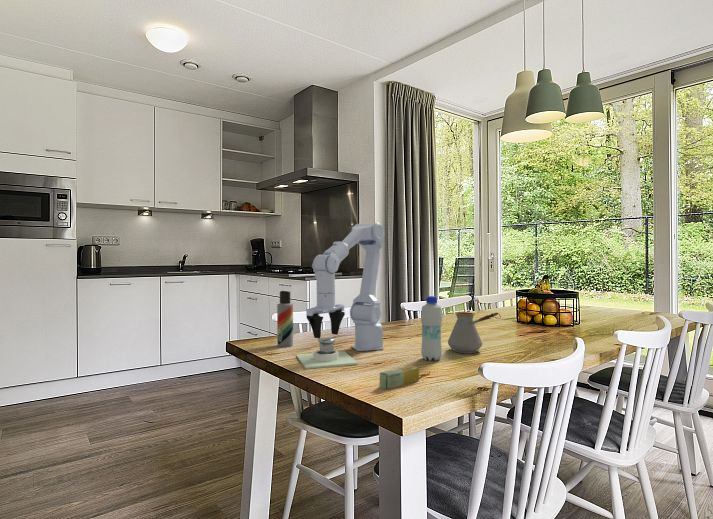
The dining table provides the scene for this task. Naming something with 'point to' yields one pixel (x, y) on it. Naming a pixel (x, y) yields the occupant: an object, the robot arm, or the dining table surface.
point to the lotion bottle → (285, 320)
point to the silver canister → (326, 345)
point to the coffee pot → (466, 333)
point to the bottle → (431, 329)
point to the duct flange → (326, 359)
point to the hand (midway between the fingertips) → (326, 336)
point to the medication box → (399, 377)
